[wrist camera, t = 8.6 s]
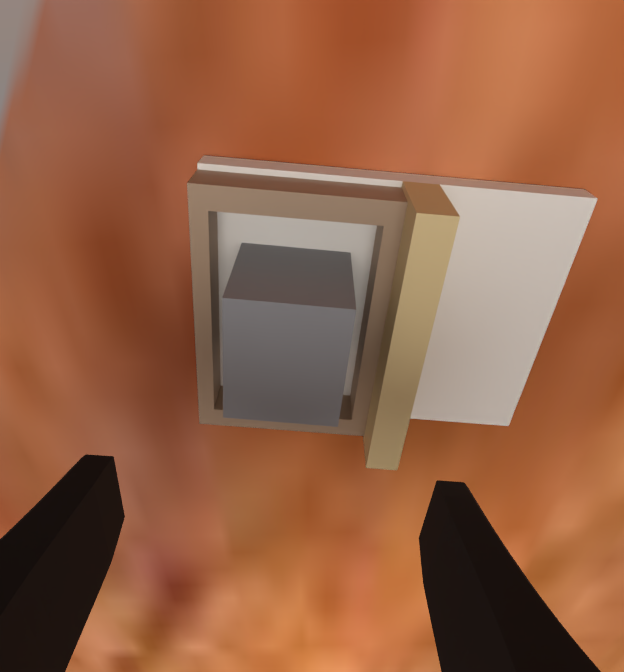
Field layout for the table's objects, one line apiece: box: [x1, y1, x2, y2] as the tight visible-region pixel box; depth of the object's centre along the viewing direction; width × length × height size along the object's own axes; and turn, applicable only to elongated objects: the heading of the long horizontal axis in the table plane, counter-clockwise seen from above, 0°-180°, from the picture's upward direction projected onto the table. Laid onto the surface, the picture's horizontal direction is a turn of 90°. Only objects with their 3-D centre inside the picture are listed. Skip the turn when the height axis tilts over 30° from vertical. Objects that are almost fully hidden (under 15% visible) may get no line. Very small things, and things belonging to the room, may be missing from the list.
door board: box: [187, 155, 598, 470], centre depth 18 cm, size 13×10×4 cm
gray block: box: [222, 243, 356, 427], centre depth 17 cm, size 4×4×4 cm
